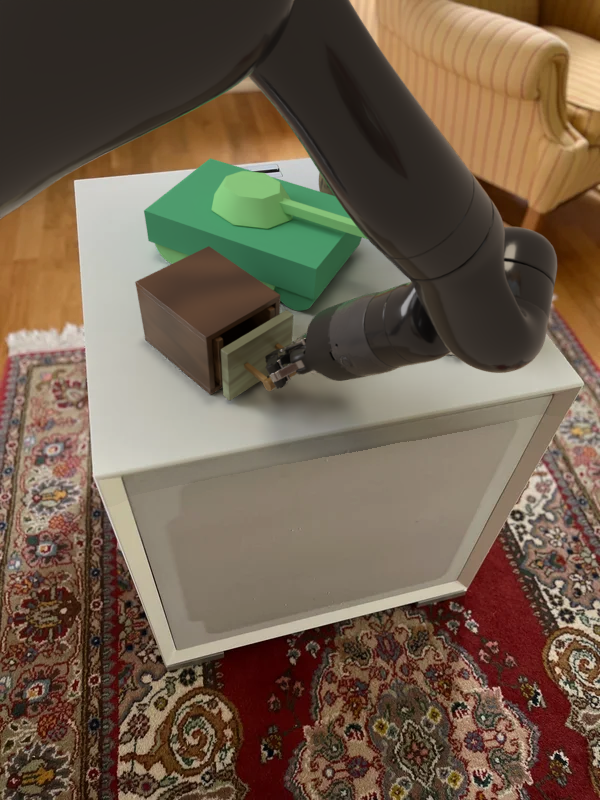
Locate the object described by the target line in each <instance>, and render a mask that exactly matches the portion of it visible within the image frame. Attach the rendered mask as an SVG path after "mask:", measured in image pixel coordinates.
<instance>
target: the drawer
mask: <svg viewBox="0 0 600 800" xmlns="http://www.w3.org/2000/svg"><path fill="white" fill-rule="evenodd" d="M293 326H294V314H293V312H291V311H289V310H288V309H286V310H284V311H282V312H280V314H279V315H277V316H276V317H275V308H274V307H272V306H269V307H267V308H266V309H264V310H262V311H260V312H259V313H257V314H255V315H253V316H252V317H250V318H248V319H247V320H245V321H243V322H241V323H240V324H238V325H236V326H235V327H233V328H231V329H229V330H228V331H226V332H224V333H223V334H221V335H219V336H217V337H216V338H214V339H212V351H213V366H214V380H215V381H216V382H217V383H218V384H220V385H222V384H223V388H222V395H223V397H224V398H225V399H226V400H228V401H232V400H233V399H235V398H237V397H238V396H240V395H241V394H243V393H244V392H245V391H248V389H250V388H252V387H253V386H255V385H257V384H258V383H259V382H261V383H262V384H263V387H264V388H265V390H266V391H267V392H272V391H274V390H275V389H276V387H275V385H274V383H273V381H272V379H271V378H270V376H269V374H268V372H267V370H266V365H267V363H266V362H265V360H266V359H265V356H266V355H268V354H270V353H271V352H273V351H274V350H277V349H280V348H284V347H285V346H287V345H288V344H290V343H291V342H293V331H294V330H293ZM297 374H298V373H296V371H295V372H293V373H292V374H290V375H289V377H290V378H293V377H294V376H295V375H297Z"/></svg>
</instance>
